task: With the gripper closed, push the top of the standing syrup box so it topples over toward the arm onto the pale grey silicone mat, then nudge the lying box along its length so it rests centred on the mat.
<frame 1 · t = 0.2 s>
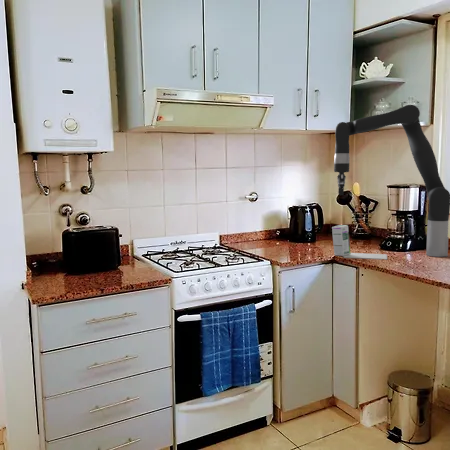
hand: (340, 194, 240), 29 cm above the worktop, tool pointing down, fingers open, 8 cm apart
syrup box: (342, 255, 233), on the worktop, touching grey mat
grey mat: (365, 256, 230), on the worktop
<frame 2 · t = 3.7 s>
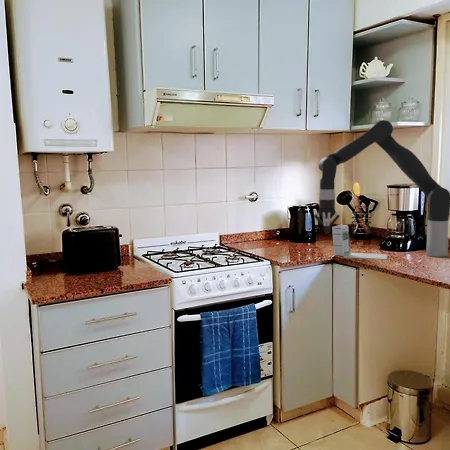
hand: (326, 233, 234), 11 cm above the worktop, tool pointing down, fingers closed
syrup box: (342, 255, 233), on the worktop, touching grey mat, gripper
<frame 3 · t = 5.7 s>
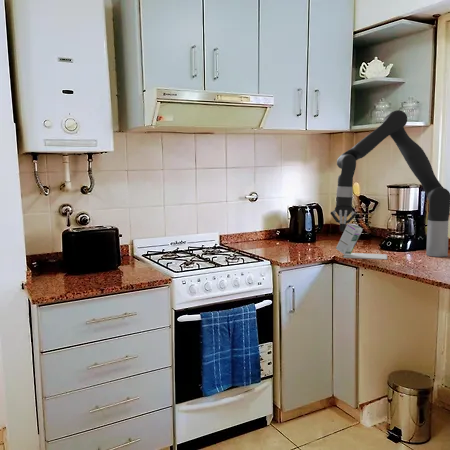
hand: (342, 231, 231), 12 cm above the worktop, tool pointing down, fingers closed
syrup box: (342, 251, 233), point 2 cm above the worktop, touching grey mat, gripper, hand
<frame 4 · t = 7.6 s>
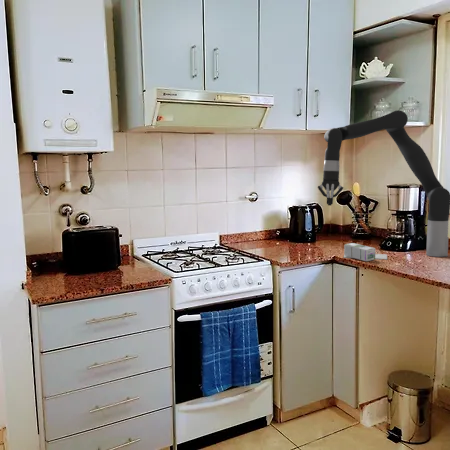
hand: (329, 205, 232), 25 cm above the worktop, tool pointing down, fingers closed
syrup box: (348, 248, 230), point 4 cm above the worktop, touching grey mat
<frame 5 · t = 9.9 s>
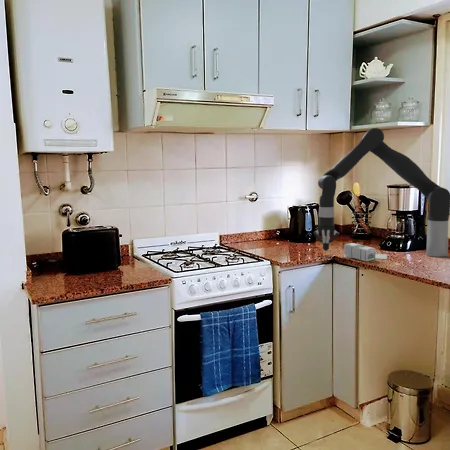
hand: (325, 250, 235), 2 cm above the worktop, tool pointing down, fingers closed
nothing on the worktop moved.
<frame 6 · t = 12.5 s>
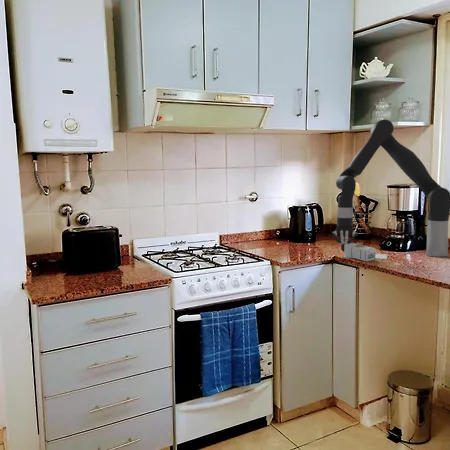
hand: (344, 251, 232), 2 cm above the worktop, tool pointing down, fingers closed
syrup box: (348, 248, 230), point 4 cm above the worktop, touching grey mat, hand
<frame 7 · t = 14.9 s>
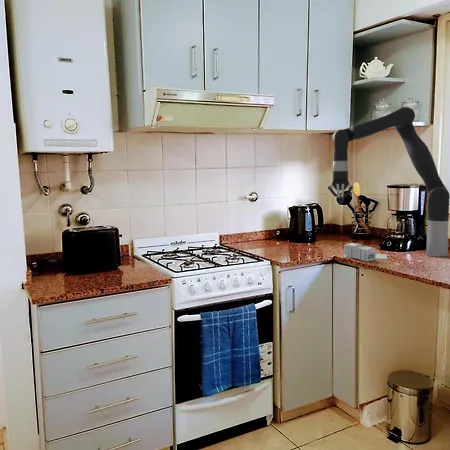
hand: (340, 204, 238), 24 cm above the worktop, tool pointing down, fingers closed
syrup box: (348, 248, 230), point 4 cm above the worktop, touching grey mat
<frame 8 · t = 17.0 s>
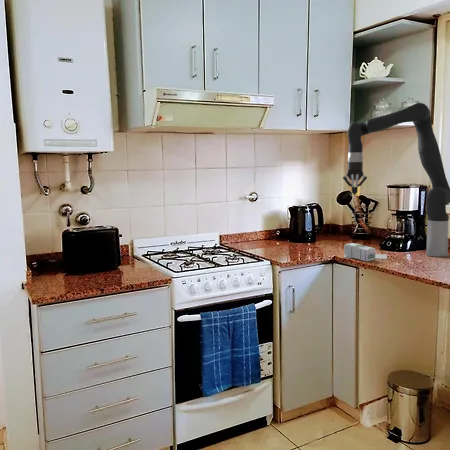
hand: (354, 194, 251), 29 cm above the worktop, tool pointing down, fingers closed
nothing on the worktop moved.
at the end: syrup box tilted 94°; syrup box inside the target area (8.3 cm from its centre), point 3.8 cm above the worktop; syrup box moved 5.1 cm from its start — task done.
